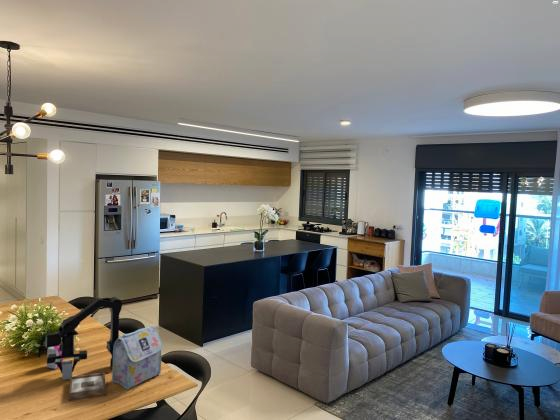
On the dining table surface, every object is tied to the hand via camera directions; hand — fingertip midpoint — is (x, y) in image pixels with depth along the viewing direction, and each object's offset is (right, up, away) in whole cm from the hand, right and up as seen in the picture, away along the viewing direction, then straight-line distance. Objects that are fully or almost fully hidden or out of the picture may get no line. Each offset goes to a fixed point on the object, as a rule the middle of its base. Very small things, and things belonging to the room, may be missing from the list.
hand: (67, 372), depth 217 cm
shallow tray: (+15, -4, -10) cm, 19 cm away
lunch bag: (+36, -5, +2) cm, 37 cm away
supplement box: (-13, -2, +12) cm, 18 cm away
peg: (0, -3, 0) cm, 3 cm away
